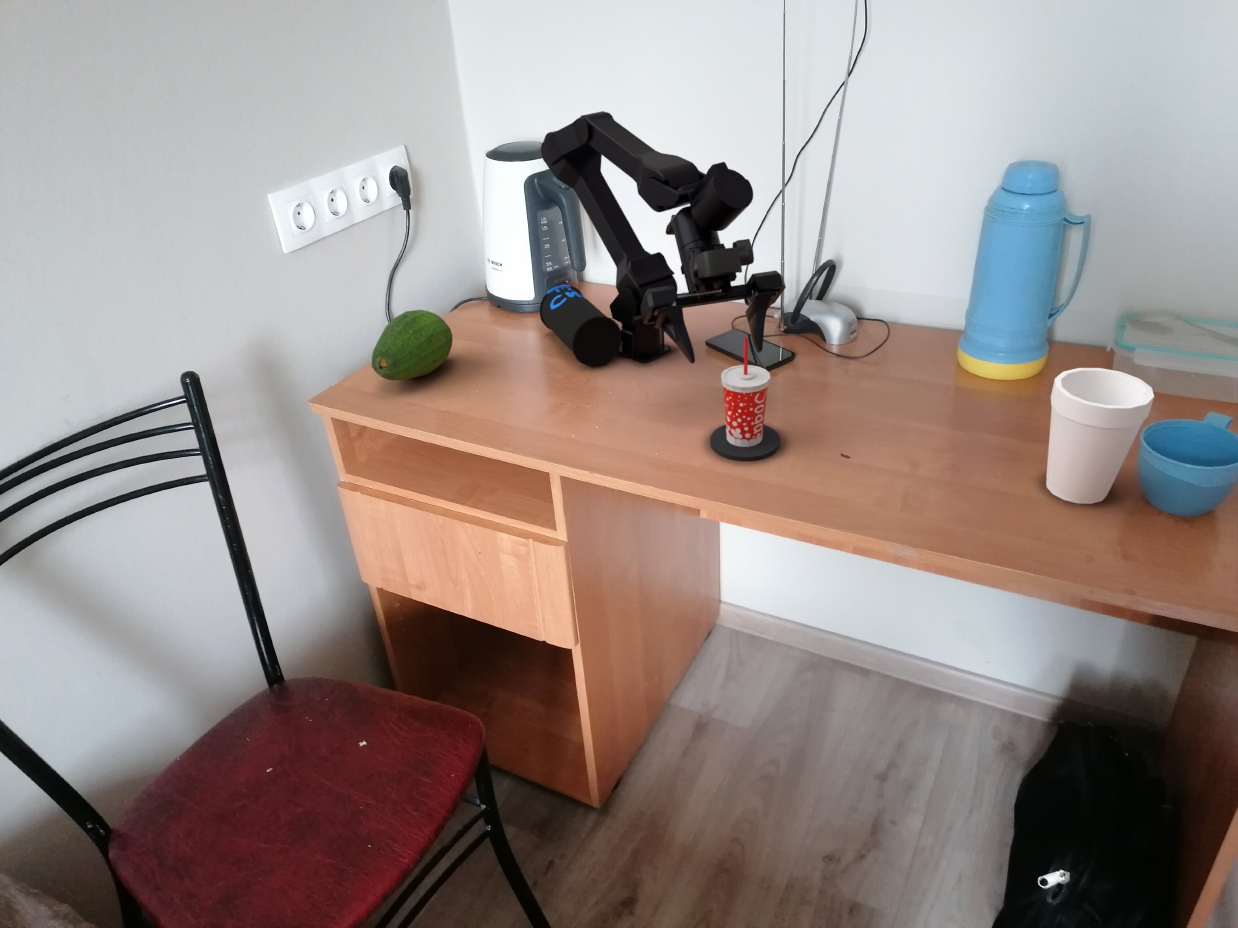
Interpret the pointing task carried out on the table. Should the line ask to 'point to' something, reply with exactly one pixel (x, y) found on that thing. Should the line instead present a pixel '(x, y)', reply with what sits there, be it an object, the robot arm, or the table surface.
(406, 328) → the fruit
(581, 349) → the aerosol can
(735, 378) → the beverage cup
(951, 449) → the table surface
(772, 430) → the coaster
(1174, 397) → the table surface
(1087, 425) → the foam cup
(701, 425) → the table surface
